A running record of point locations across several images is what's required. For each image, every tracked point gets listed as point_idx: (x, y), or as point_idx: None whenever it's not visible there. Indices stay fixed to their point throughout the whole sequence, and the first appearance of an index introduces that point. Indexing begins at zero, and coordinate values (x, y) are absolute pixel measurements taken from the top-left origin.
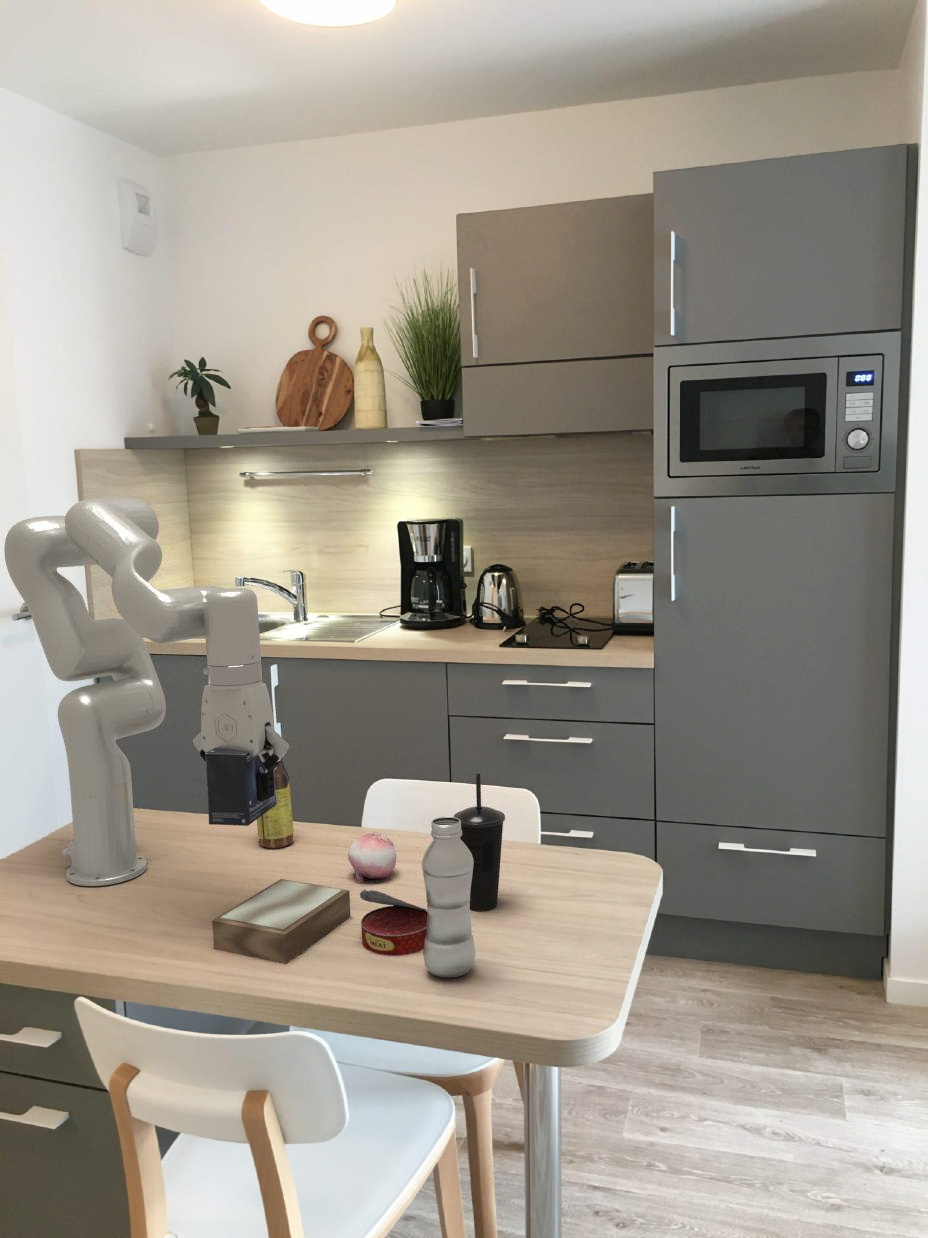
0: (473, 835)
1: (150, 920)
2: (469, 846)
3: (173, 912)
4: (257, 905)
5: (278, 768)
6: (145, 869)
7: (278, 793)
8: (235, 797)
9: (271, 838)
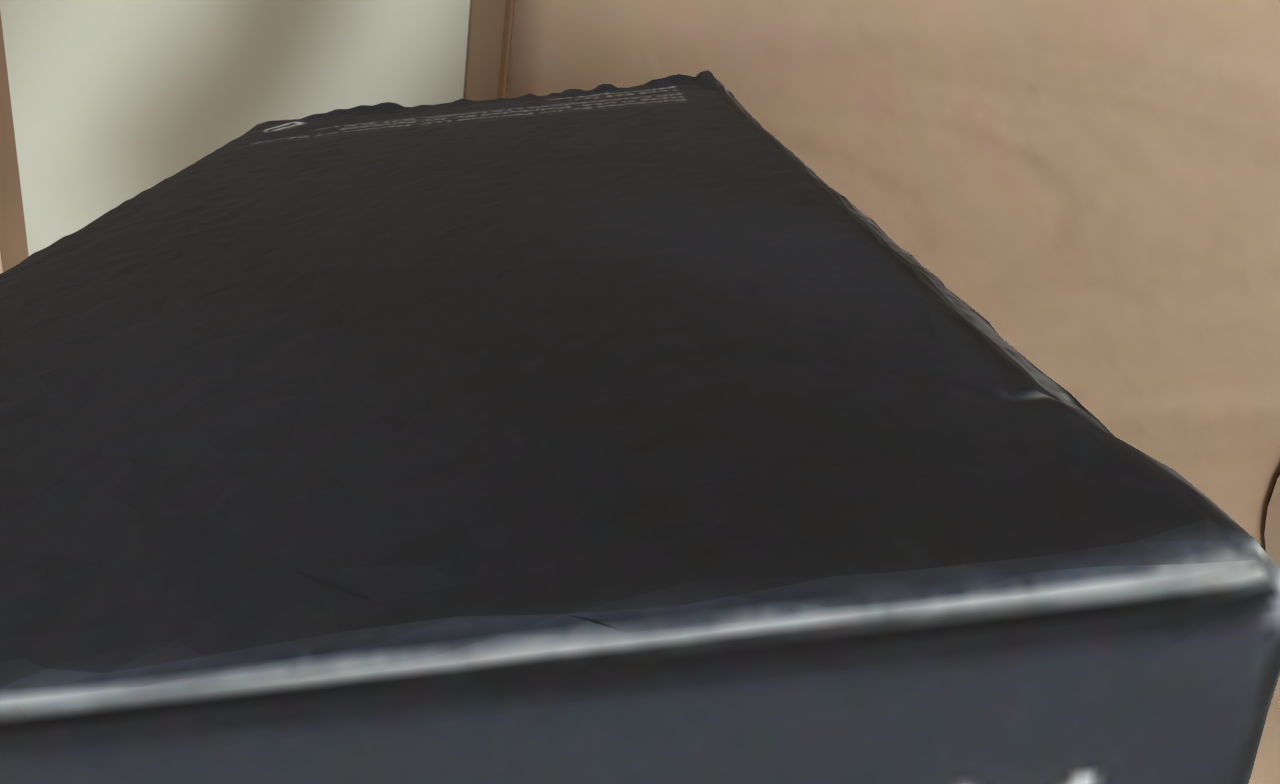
0: None
1: (1023, 64)
2: None
3: (950, 178)
4: (364, 47)
5: None
6: (1266, 541)
7: None
8: (297, 177)
9: None
